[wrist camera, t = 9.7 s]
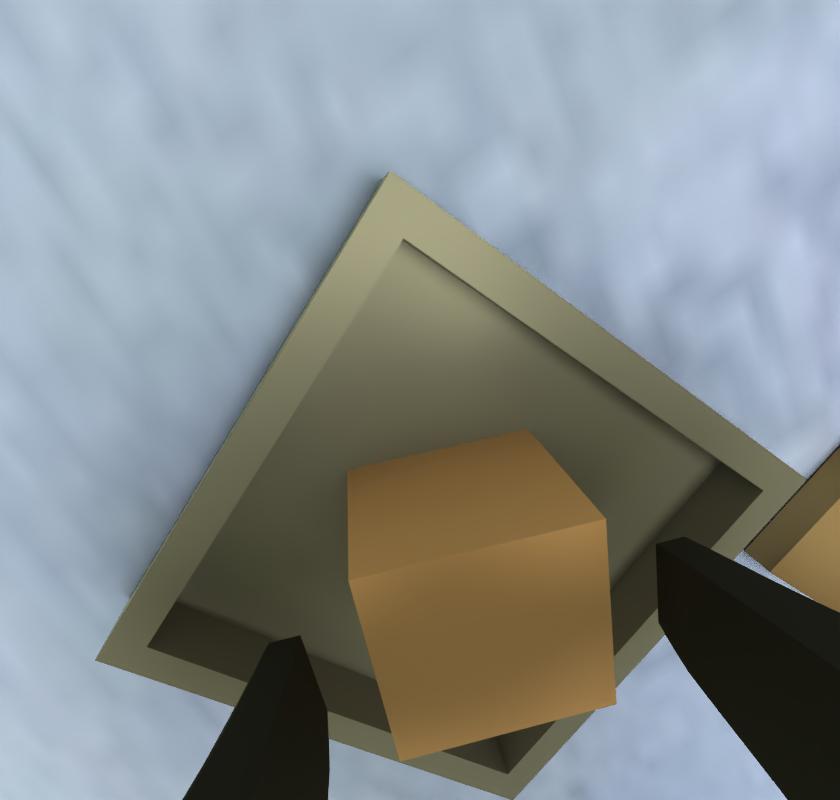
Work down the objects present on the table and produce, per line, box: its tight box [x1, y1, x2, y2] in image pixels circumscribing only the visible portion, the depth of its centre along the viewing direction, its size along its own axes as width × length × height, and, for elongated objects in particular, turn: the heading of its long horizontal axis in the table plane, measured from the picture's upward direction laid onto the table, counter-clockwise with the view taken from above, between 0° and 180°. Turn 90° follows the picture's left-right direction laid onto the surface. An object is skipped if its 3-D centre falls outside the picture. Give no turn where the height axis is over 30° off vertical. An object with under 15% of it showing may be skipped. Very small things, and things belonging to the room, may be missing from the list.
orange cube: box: [347, 429, 616, 762], centre depth 11 cm, size 4×4×4 cm
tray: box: [95, 171, 807, 800], centre depth 13 cm, size 12×12×2 cm
